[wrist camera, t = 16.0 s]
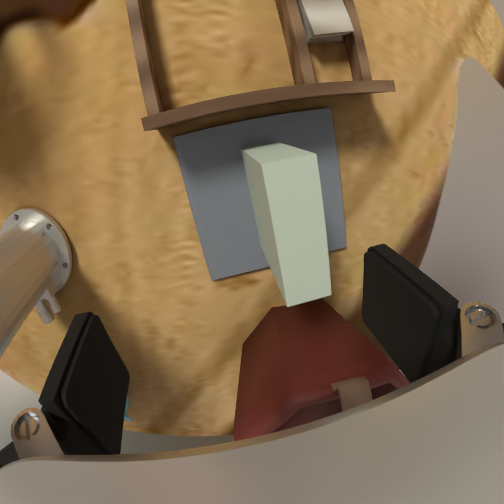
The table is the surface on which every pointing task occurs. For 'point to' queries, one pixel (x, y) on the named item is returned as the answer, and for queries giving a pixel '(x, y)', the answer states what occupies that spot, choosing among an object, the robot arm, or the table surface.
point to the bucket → (306, 370)
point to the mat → (237, 190)
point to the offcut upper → (324, 18)
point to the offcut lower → (324, 39)
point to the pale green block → (290, 218)
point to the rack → (301, 90)
